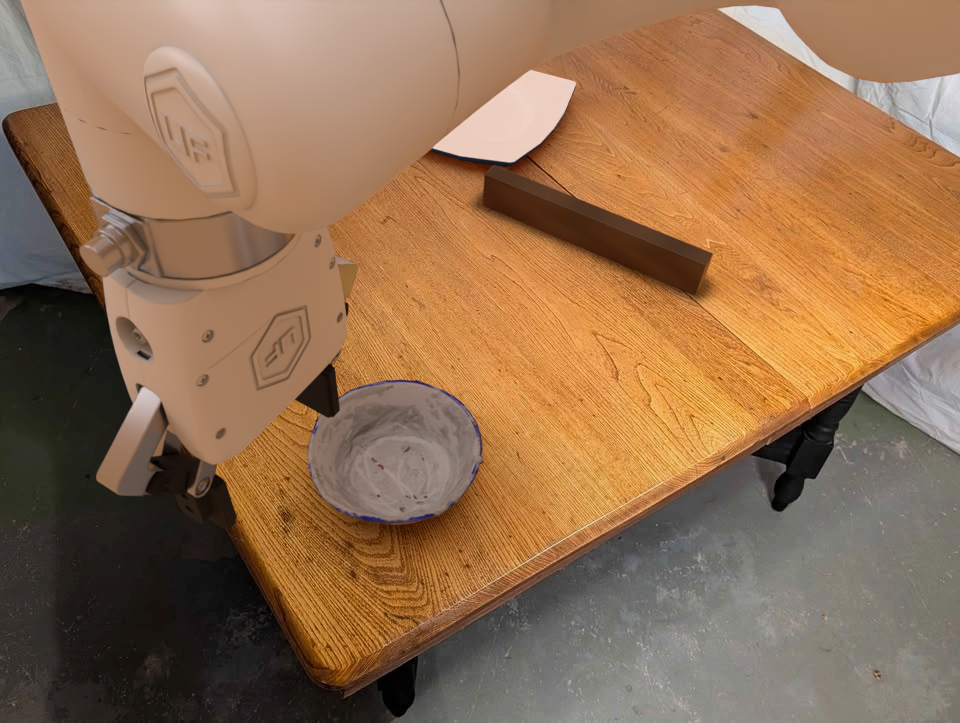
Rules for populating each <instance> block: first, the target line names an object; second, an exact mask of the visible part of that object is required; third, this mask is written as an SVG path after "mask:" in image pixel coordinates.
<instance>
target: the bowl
mask: <svg viewBox="0 0 960 723" xmlns="http://www.w3.org/2000/svg"><path fill="white" fill-rule="evenodd" d="M338 398H339V406H340V411H339V412H338V413H337V414H336V415H335V416H334V417H330V418H327V417H325V416H323V415H322V414H319V415H318V416H317V417H316V419H315V421H314V425H313V428H312V431H311V434H310V437H309V441H308V445H307V446H308V448H307V468H308V472H309V477H310V479H311V482H312V483H313V485H314V487H315V489H316V491H317V493H318V494H319V495H320V496H321V498H322V499H323V500H324V501H325V503H327V505H329V506H331V508H333V509H335V510H336V511H337V512H339V513H342V514H343V515H345V516H347V517H350V518H353V519H356V520H359V521H363V522H364V521H365V522H368V523H373V524H381V525H392V526H401V525H409V524H415V523H418V522H421V521H425V520H428V519H431V518H434V517H439V516H441V515H442V514H443V513H445V512H447V511H448V510H452V509H453V507H454V506H456V505H458V504H459V503H460V501H461V499H462V498H463V497H464V495H465V494H466V493H467V492H468V490H469V489H470V488H471V486H472V484H473V483H474V481H475V479H476V477H477V475H478V473H479V469H480V467H481V466H480V465H482V464H483V463H484V460H483V439H482V438H483V437H482V433H481V430H480V427H479V424H478V421H477V419H475V417H474V416H473V414H472V412H471V411H470V410H469V409H468V408H467V406H466V405H465V403H463V402H462V401H461V400H459V399H458V398H457V397H456V396H455V395H453V394H451V393H450V392H448V391H446V390H444V389H442V388H439V387H438V386H433V385H432V384H429V383H426V382H424V381H420V380H418V379H413V380H412V379H411V380H409V379H386V380H382V381H374V382H372V383H368V384H364V385H359V386H357V387H355V388H351V389H350V390H349V391H346V392H344V393H343V394H342V395H340V396H338Z"/></svg>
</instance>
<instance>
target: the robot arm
mask: <svg viewBox="0 0 960 723" xmlns="http://www.w3.org/2000/svg"><path fill="white" fill-rule="evenodd" d="M19 1H20V4H21V6H22V10H23V12H24V14H25V17H26V20H27V23H28V26H29V27H30V31H31V33H32V37H33V40H34V42H35V45H36V47H37V50H38V53H39V55H40V58H41V61H42V65H43V66H44V68H45V72H46V74H47V78H48V80H49V83H50V85H51V88H52V90H53V94H54V96H55V97H54V98H55V99H56V102H57V105H58V107H59V110H60V113H61V116H62V118H63V122H64V124H65V126H66V127H65V128H66V129H67V132H68V135H69V138H70V140H71V143H72V145H73V148H74V151H75V154H76V156H77V159H78V162H79V165H80V167H81V171H82V173H83V176H84V179H85V181H86V183H87V186H88V189H89V193H90V195H91V196H90V197H89V198H88V199H89V203H90V205H91V207H92V211H93V213H94V216H95V219H96V221H97V224H98V225H97V228H96V230H94V231H93V233H92V238H90V239H89V240H87V241H86V242H85V243H84V244H82V245H80V246H79V249H78V251H79V254H80V258H81V259H82V260H83V261H84V263H85V265H86V266H87V267H88V268H89V269H90V270H91V271H92V272H93V273H95V274H96V275H97V276H99V277H102V286H103V294H104V295H103V296H104V302H105V310H106V315H107V321H108V326H109V331H110V335H111V340H112V344H113V348H114V351H115V355H116V359H117V362H118V365H119V369H120V372H121V375H122V378H123V381H124V384H125V387H126V390H127V393H128V395H129V398H130V400H131V402H132V405H131V406H130V408H129V410H128V412H127V414H126V416H125V418H124V420H123V422H122V424H121V425H120V427H119V430H118V431H117V434H116V436H115V438H114V439H113V441H112V443H111V445H110V447H109V449H108V451H107V453H106V455H105V456H104V457H103V458H104V459H103V461H102V462H101V464H100V466H99V468H98V470H97V472H96V475H95V480H96V481H97V482H98V483H99V484H101V485H103V486H104V487H106V488H107V489H109V490H110V491H111V492H113V493H115V494H116V495H118V496H121V497H123V496H124V497H128V496H129V497H144V496H151V497H153V498H154V499H156V500H158V499H159V500H160V499H165V498H169V497H174V498H175V499H176V502H177V504H178V507H179V508H180V510H181V511H182V512H183V513H184V514H185V515H186V516H188V518H190V519H191V520H193V521H195V522H197V523H198V524H201V525H203V524H205V522H206V521H207V520H209V521H211V522H213V523H215V524H216V525H217V526H219V527H221V528H222V529H223V530H226V531H230V530H231V529H232V528H233V527H234V525H235V524H237V518H238V516H237V514H236V510H235V507H234V504H233V501H232V498H231V494H230V491H229V488H228V484H227V482H226V480H225V479H224V478H223V477H222V476H220V475H219V474H216V471H217V467H218V465H220V464H223V463H225V462H227V461H229V460H232V458H234V457H236V456H237V455H239V454H241V453H242V452H243V451H244V450H245V449H246V448H247V447H249V446H250V445H251V444H252V443H253V442H254V441H255V440H256V439H257V438H258V437H259V436H260V435H261V434H262V433H263V432H264V431H265V430H266V429H267V428H268V427H269V426H271V425H272V423H274V421H275V420H276V419H277V418H278V417H279V416H280V415H281V414H282V413H283V412H284V411H285V410H287V408H288V407H289V406H290V405H291V404H292V403H293V402H294V401H296V402H298V403H300V404H301V405H303V406H305V407H306V408H309V409H311V410H312V411H314V412H316V413H318V414H319V415H321V414H322V415H323V416H325V417H327V418H330V417H334V416H335V415H336V414H337V413H338V412H339V411H340V406H339V390H338V383H337V382H338V380H337V373H336V367H334V365H333V364H334V363H336V361H338V359H339V358H340V356H341V353H342V349H343V346H344V344H345V342H346V339H347V333H348V322H347V319H348V316H349V309H350V307H349V303H348V302H346V301H347V299H348V298H350V295H351V292H352V289H353V286H354V284H355V281H356V277H357V273H358V270H359V267H358V265H357V263H354V262H353V261H350V260H348V259H347V258H344V257H342V256H341V255H337V254H336V251H335V247H334V243H333V240H332V236H331V233H330V231H329V230H330V229H329V226H331V225H333V224H336V223H337V222H340V221H341V220H343V219H344V218H346V217H348V216H349V215H350V214H352V213H353V212H354V211H356V210H358V209H360V208H361V207H362V206H363V205H364V204H365V203H367V202H368V201H369V200H371V198H373V197H374V196H375V195H377V193H379V192H380V191H381V190H382V189H383V188H386V186H387V185H388V184H390V183H391V182H392V181H393V180H395V179H396V178H397V177H399V176H400V175H401V174H402V173H404V172H405V171H407V169H409V168H410V167H411V166H412V165H414V164H415V163H416V162H417V161H419V160H420V159H421V158H422V157H424V156H425V155H426V154H428V152H431V151H430V150H431V149H432V148H433V147H434V146H435V145H436V144H437V143H438V142H439V141H441V140H442V139H443V138H444V137H445V136H447V135H448V134H449V133H450V132H451V131H453V130H454V129H455V128H456V127H458V126H459V125H460V124H461V123H462V122H464V121H465V120H466V119H467V118H469V117H470V116H471V115H472V114H474V113H475V112H476V111H477V110H479V109H480V108H481V107H482V106H484V105H485V104H486V103H487V102H489V101H490V100H491V99H492V98H494V97H495V96H496V95H498V94H499V93H500V92H502V91H503V90H504V89H505V88H507V87H508V86H509V85H511V84H512V83H513V82H515V81H516V80H517V79H519V78H520V77H521V76H523V75H524V74H525V73H527V72H528V71H530V70H533V69H535V68H537V67H538V66H540V65H542V64H545V63H547V62H549V61H551V60H553V59H555V58H557V57H561V56H562V55H565V54H567V53H570V52H573V51H575V50H578V49H581V48H585V47H587V46H591V45H594V44H597V43H599V42H602V41H603V42H604V41H606V40H608V39H612V38H614V37H618V36H620V35H623V34H626V33H629V32H634V31H637V30H640V29H644V28H646V27H649V26H653V25H656V24H659V23H664V22H667V21H670V20H673V19H677V18H680V17H681V18H682V17H684V16H685V17H686V16H688V15H694V14H698V13H703V12H707V11H713V10H719V9H726V8H732V7H755V6H757V7H764V8H772V9H777V10H779V12H780V13H781V15H782V17H783V19H784V20H785V22H786V24H788V26H789V27H790V29H791V30H792V31H793V33H794V34H795V35H796V36H797V37H798V38H799V39H800V40H801V41H802V43H803V44H804V45H805V46H807V47H808V49H809V50H810V51H811V52H812V53H813V54H814V55H815V56H816V57H818V59H820V60H821V61H822V62H823V63H825V64H826V65H827V66H829V67H831V68H833V69H835V70H837V71H839V72H842V73H843V74H846V75H848V76H850V77H852V78H854V79H857V80H862V81H866V82H867V81H868V82H872V83H873V82H874V83H879V84H893V83H894V84H895V83H912V82H917V81H924V80H931V79H935V78H936V79H937V78H941V77H942V78H943V77H947V76H954V75H959V74H960V0H19ZM182 445H183V447H184V448H185V449H186V450H187V452H189V453H190V454H191V455H192V457H191V456H189V455H188V454H186V453H184V452H181V449H182Z"/></svg>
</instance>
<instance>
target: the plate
mask: <svg viewBox="0 0 960 723" xmlns="http://www.w3.org/2000/svg"><path fill="white" fill-rule="evenodd" d="M576 88H577V82H576V81H575V80H571V79H567V78H563V77H559V76H556V75H552V74H548V73H544V72H540V71H538V70H537V71H536V70H533V69H531V70H530V71H528V72H527V73H525V74H524V75H523V76H521V77H520V78H519V79H517V80H516V81H515V82H513V83H512V84H511V85H509V86H508V87H507V88H505V89H504V90H503V91H502V92H500V93H499V94H498V95H496V96H495V97H494V98H492V99H491V100H490V101H489V102H487V103H486V104H485V105H484V106H482V107H481V108H480V109H479V110H477V111H476V112H475V113H474V114H472V115H471V116H470V117H469V118H467V119H466V120H465V121H464V122H462V123H461V124H460V125H459V126H458V127H456V128H455V129H454V130H453V131H451V132H450V133H449V134H448V135H447V136H445V137H444V138H443V139H442V140H441V141H439V142H438V143H437V144H436V145H435V146H434V147H433V148H432V149H431V150H430V151H429V152H431V153H435V154H438V155H441V156H444V157H448V158H451V159H454V160H457V161H460V162H467V163H472V164H479V165H485V166H491V167H492V166H493V165H496V166H499V167H501V168H511V167H513V166H515V165H516V164H517V163H519V162H521V161H522V160H523V159H524V158H526V157H527V156H529V155H530V154H531V153H532V152H534V151H536V150H537V149H539V148H540V147H541V146H542V145H543V144H544V143H545V141H547V139H548V138H549V137H550V136H551V135H552V134H553V133H554V131H555V129H557V127H558V125H560V122H561V121H562V119H563V118H564V116H565V114H566V112H567V109H568V107H569V105H570V102H571V100H572V97H573V96H574V93H575V90H576Z"/></svg>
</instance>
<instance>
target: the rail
mask: <svg viewBox="0 0 960 723" xmlns="http://www.w3.org/2000/svg"><path fill="white" fill-rule="evenodd" d="M482 193H483V194H482V206H483V207H486V208H488V209H491V210H493V211H496V212H497V213H499V214H502V215H505V216H506V217H509V218H511V219H514V220H516V221H519V222H521V223H524V224H526V225H529V226H530V227H533V228H534V229H537V230H540V231H542V232H545V233H547V234H549V235H552V236H555V237H556V238H559V239H562V240H564V241H566V242H569V243H571V244H573V245H575V246H577V247H580V248H583V249H585V250H587V251H590V252H592V253H593V254H594V253H595V254H597V255H599V256H601V257H604V258H606V259H609V260H610V261H612V262H615V263H618V264H620V265H622V266H624V267H627V268H630V269H631V270H633V271H637V272H639V273H641V274H643V275H646V276H648V277H650V278H653V279H655V280H658V281H660V282H663V283H664V284H667V285H670V286H671V287H674V288H677V289H679V290H681V291H684V292H686V293H688V294H691V295H693V296H697V294H698V293H699V291H700V289H701V287H702V286H703V284H704V281H705V279H706V275H707V273H708V270H709V267H710V264H711V261H712V258H713V255H714V253H713V252H710V251H708V250H706V249H703V248H701V247H698V246H696V245H694V244H691V243H689V242H687V241H683V240H681V239H679V238H676V237H674V236H671V235H669V234H666V233H664V232H661V231H659V230H656V229H654V228H651V227H649V226H647V225H644V224H642V223H639V222H637V221H634V220H632V219H629V218H627V217H625V216H622V215H620V214H617V213H614V212H612V211H610V210H607V209H605V208H603V207H599V206H597V205H595V204H592V203H590V202H587V201H585V200H583V199H580V198H577V197H575V196H573V195H570V194H568V193H566V192H563V191H560V190H558V189H555V188H553V187H550V186H548V185H545V184H543V183H541V182H538V181H535V180H533V179H531V178H529V177H525V176H523V175H520V174H518V173H516V172H513V171H511V170H508V169H506V168H505V167H499V166H496V165H493V166H492V165H491V167H490V168H489V169H488V170H487V171H486V172H485V173H484V176H483V192H482Z"/></svg>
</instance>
